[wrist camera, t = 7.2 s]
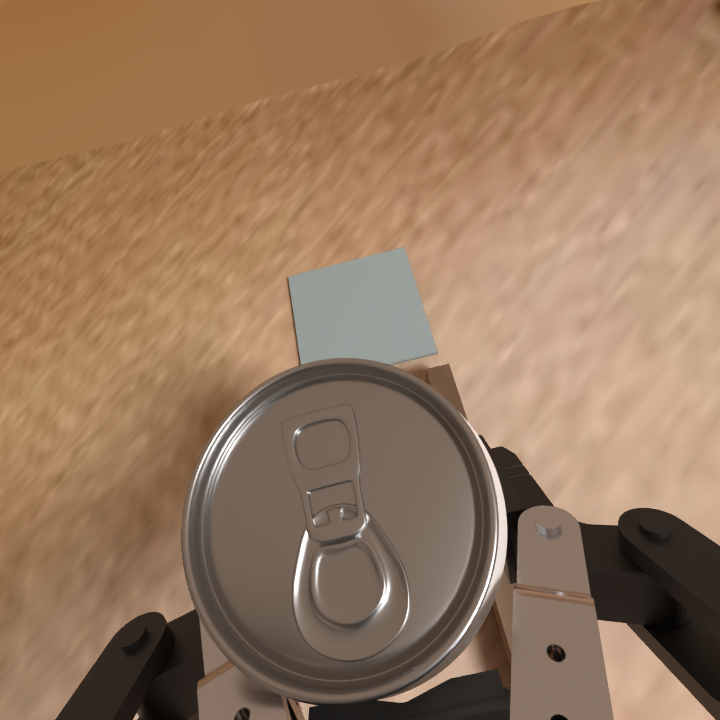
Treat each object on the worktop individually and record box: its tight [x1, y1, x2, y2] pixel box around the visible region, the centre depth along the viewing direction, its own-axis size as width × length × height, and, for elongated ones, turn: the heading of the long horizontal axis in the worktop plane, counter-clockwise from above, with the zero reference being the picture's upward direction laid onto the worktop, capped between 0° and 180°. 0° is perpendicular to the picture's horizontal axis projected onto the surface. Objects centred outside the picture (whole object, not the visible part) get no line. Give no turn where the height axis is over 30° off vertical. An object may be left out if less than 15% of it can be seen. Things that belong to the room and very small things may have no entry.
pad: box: [288, 247, 438, 365], centre depth 31 cm, size 10×10×1 cm
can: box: [181, 358, 507, 706], centre depth 12 cm, size 6×6×12 cm
